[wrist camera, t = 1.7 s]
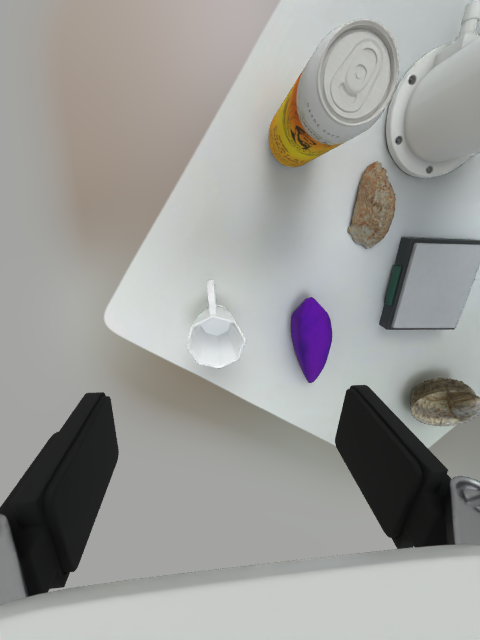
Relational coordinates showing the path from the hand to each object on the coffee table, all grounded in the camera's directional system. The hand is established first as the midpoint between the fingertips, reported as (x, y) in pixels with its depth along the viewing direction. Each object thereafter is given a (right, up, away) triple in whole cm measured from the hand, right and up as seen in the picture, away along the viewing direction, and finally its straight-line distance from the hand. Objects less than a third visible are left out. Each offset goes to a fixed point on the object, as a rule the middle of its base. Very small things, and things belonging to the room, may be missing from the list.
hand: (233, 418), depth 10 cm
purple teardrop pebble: (+10, +1, +30) cm, 32 cm away
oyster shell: (+17, +19, +24) cm, 35 cm away
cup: (-3, +6, +27) cm, 28 cm away
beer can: (+6, +25, +20) cm, 33 cm away
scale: (+28, +9, +29) cm, 41 cm away
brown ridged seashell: (+34, -11, +32) cm, 48 cm away
